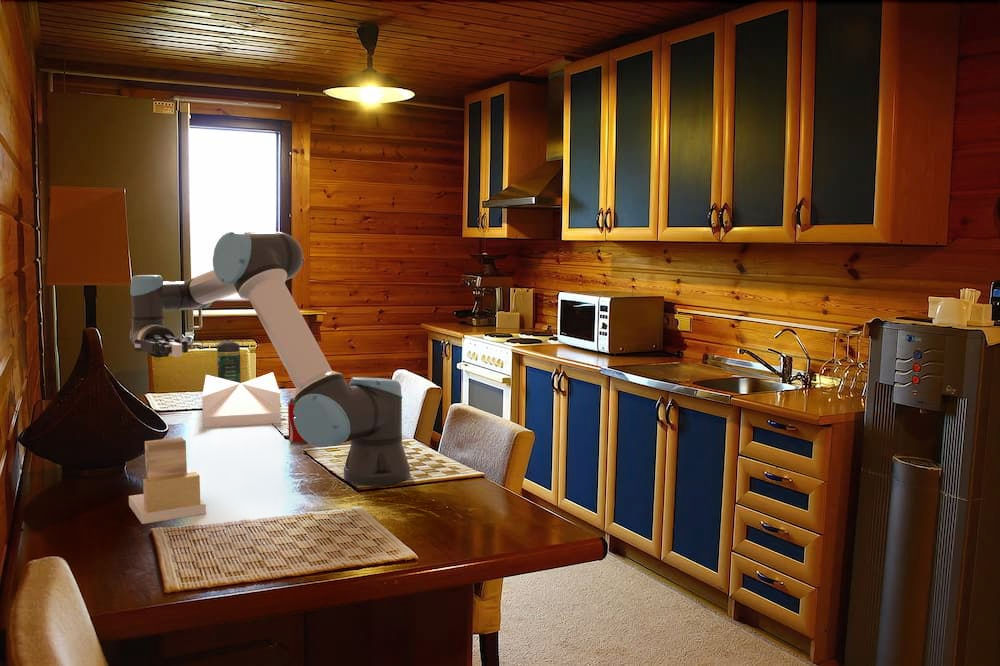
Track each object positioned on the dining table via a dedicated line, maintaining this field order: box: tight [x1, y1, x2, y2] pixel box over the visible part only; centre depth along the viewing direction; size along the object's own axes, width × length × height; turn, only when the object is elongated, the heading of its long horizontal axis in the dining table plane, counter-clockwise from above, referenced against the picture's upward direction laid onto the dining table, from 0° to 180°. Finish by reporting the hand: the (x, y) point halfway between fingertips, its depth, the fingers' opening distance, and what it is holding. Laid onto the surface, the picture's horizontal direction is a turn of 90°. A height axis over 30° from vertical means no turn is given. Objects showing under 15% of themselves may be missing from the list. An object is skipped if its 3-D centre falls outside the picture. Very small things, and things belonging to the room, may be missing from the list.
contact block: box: [142, 471, 201, 513], centre depth 171 cm, size 3×10×6 cm, turn 123°
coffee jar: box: [216, 340, 242, 383], centre depth 314 cm, size 10×8×19 cm
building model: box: [201, 371, 282, 428], centre depth 279 cm, size 45×22×10 cm, turn 17°
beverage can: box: [287, 397, 309, 445], centre depth 235 cm, size 6×6×12 cm
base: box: [128, 493, 207, 525], centre depth 176 cm, size 14×12×2 cm
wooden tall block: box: [144, 436, 188, 479], centre depth 175 cm, size 5×7×12 cm, turn 123°
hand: (178, 351), depth 192 cm, fingers closed
